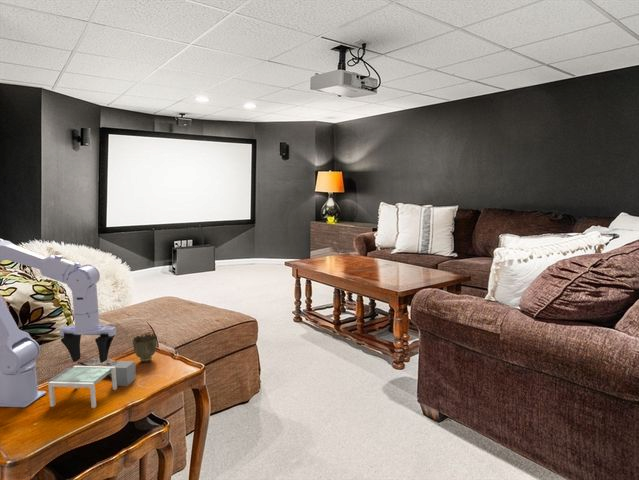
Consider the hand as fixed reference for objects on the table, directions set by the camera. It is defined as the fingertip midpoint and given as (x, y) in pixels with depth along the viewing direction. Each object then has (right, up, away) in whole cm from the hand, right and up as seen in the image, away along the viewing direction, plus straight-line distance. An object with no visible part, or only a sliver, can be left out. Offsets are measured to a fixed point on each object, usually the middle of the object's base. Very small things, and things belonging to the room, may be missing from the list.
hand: (90, 360), depth 113 cm
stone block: (+4, -9, +10) cm, 15 cm away
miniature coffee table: (-2, -10, +2) cm, 11 cm away
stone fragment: (-7, -9, +21) cm, 23 cm away
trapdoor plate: (-3, -5, +1) cm, 6 cm away
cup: (+5, -8, +25) cm, 27 cm away
